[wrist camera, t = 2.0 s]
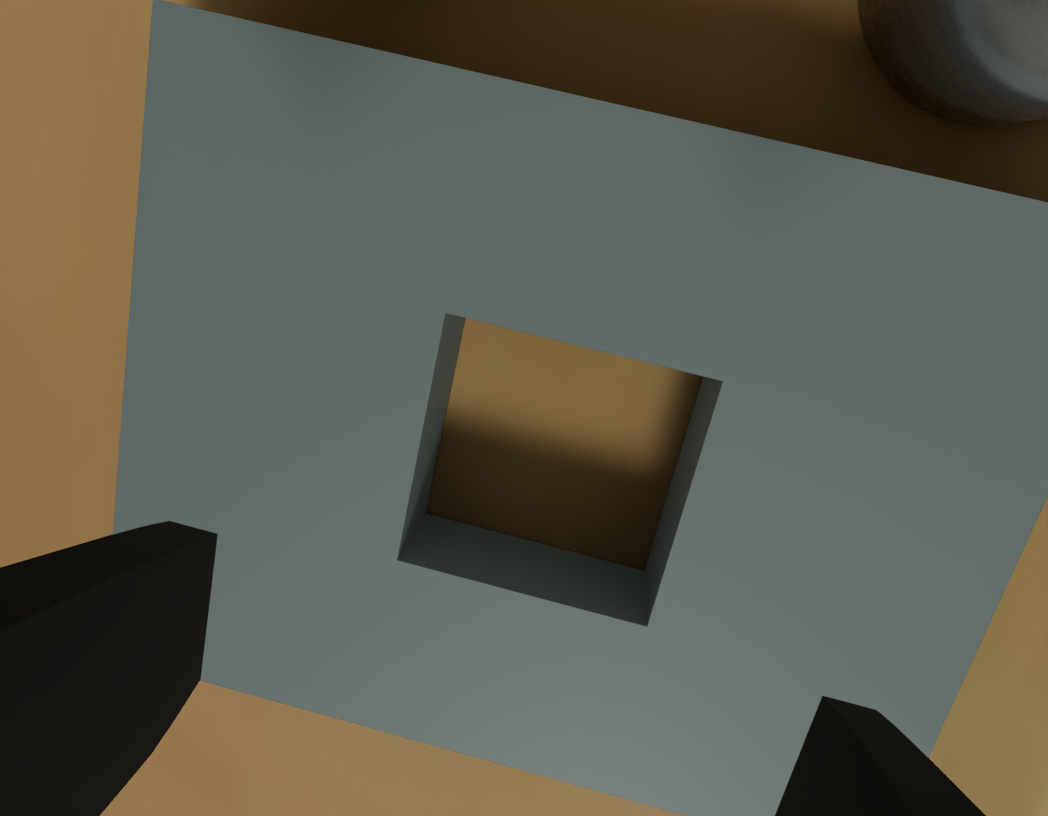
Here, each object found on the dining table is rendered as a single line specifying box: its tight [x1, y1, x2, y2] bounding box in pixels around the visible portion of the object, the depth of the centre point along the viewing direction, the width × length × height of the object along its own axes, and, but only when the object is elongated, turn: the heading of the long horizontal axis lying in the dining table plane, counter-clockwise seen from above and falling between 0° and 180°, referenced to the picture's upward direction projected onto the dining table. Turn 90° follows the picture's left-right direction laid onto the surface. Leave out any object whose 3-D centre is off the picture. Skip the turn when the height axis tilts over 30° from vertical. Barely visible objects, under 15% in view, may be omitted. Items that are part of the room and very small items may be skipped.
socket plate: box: [113, 0, 1048, 816], centre depth 17 cm, size 18×14×2 cm
